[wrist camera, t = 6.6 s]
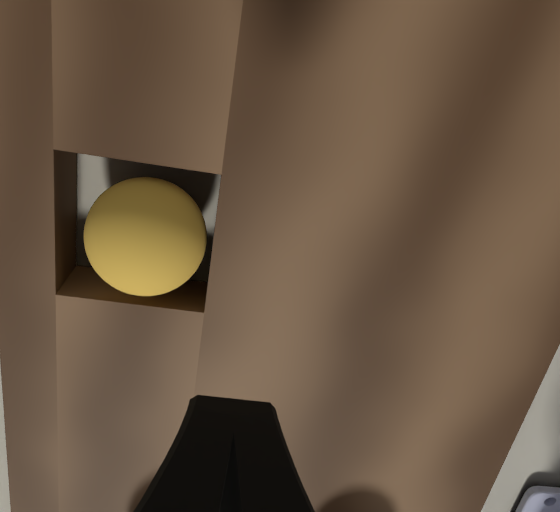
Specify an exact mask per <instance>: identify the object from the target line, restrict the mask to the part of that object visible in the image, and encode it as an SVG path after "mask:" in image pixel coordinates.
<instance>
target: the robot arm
mask: <svg viewBox="0 0 560 512" xmlns="http://www.w3.org/2000/svg"><path fill="white" fill-rule="evenodd" d="M133 512H315V511H314V509H313V506H312V504H311V502H310V500H309V498H308V495H307V493H306V491H305V489H304V487H303V484H302V482H301V479H300V477H299V475H298V472H297V470H296V467H295V465H294V462H293V459H292V457H291V454H290V452H289V449H288V446H287V444H286V441H285V438H284V435H283V432H282V429H281V426H280V423H279V419H278V416H277V412H276V409H275V407H274V406H273V405H272V404H271V403H270V402H261V401H252V400H243V399H233V398H224V397H214V396H205V395H196V396H195V397H193V398H191V399H190V401H189V404H188V408H187V411H186V414H185V416H184V419H183V421H182V424H181V426H180V428H179V431H178V433H177V435H176V437H175V439H174V441H173V443H172V445H171V447H170V449H169V451H168V453H167V455H166V457H165V459H164V461H163V462H162V464H161V466H160V467H159V469H158V471H157V473H156V474H155V476H154V478H153V480H152V481H151V483H150V485H149V487H148V488H147V490H146V492H145V494H144V495H143V497H142V499H141V500H140V502H139V504H138V505H137V507H136V508H135V510H134V511H133ZM515 512H560V488H559V487H548V486H533V487H530V488H529V489H527V491H526V492H525V494H524V496H523V498H522V499H521V501H520V503H519V505H518V507H517V509H516V511H515Z"/></svg>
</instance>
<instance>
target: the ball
mask: <svg viewBox="0 0 560 512" xmlns="http://www.w3.org/2000/svg"><path fill="white" fill-rule="evenodd" d="M206 243H207V231H206V225H205V221H204V218H203V216H202V213H201V211H200V209H199V207H198V206H197V204H196V203H195V201H194V200H193V199H192V198H191V197H190V196H189V195H188V194H187V193H186V192H185V191H184V190H183V189H181V188H180V187H178V186H176V185H175V184H173V183H170V182H168V181H166V180H163V179H159V178H153V177H136V178H131V179H127V180H124V181H121V182H119V183H117V184H115V185H113V186H111V187H110V188H108V189H107V190H106V191H104V192H103V193H102V194H101V195H100V196H99V197H98V198H97V200H96V201H95V202H94V204H93V205H92V207H91V209H90V211H89V213H88V215H87V218H86V222H85V226H84V246H85V251H86V254H87V257H88V259H89V262H90V263H91V265H92V267H93V268H94V270H95V271H96V273H97V274H98V275H99V276H100V277H101V278H102V279H103V280H104V281H105V282H107V283H108V284H109V285H111V286H112V287H114V288H116V289H117V290H120V291H122V292H125V293H127V294H132V295H137V296H155V295H160V294H164V293H167V292H170V291H172V290H174V289H176V288H178V287H179V286H181V285H182V284H184V283H185V282H186V281H187V280H188V279H189V278H190V277H191V276H192V275H193V274H194V273H195V271H196V270H197V269H198V267H199V265H200V263H201V261H202V259H203V256H204V253H205V249H206Z"/></svg>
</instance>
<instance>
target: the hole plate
mask: <svg viewBox="0 0 560 512" xmlns="http://www.w3.org/2000/svg"><path fill="white" fill-rule="evenodd" d="M77 153H81V154H88V155H94V156H101V157H107V158H114V159H121V160H127V161H134V162H141V163H147V164H154V165H161V166H167V167H174V168H180V169H187V170H194V171H200V172H207V173H214V174H220V175H221V182H220V190H219V198H218V206H217V214H216V222H215V230H214V238H213V246H212V254H211V262H210V270H209V278H208V282H201V281H193V280H187V281H186V282H185V283H184V284H182V285H181V286H179V287H178V288H176V289H174V290H172V291H170V292H167V293H164V294H160V295H155V296H137V295H132V294H127V293H125V292H122V291H120V290H117V289H116V288H114V287H112V286H111V285H109V284H108V283H107V282H105V281H104V280H103V279H102V278H101V277H100V276H99V275H98V274H97V273H96V271H95V270H94V268H92V267H84V266H76V209H77ZM559 344H560V0H0V362H1V376H2V390H3V405H4V419H5V433H6V448H7V462H8V476H9V491H10V505H11V512H133V511H134V510H135V508H136V507H137V505H138V504H139V502H140V500H141V499H142V497H143V495H144V494H145V492H146V490H147V488H148V487H149V485H150V483H151V481H152V480H153V478H154V476H155V474H156V473H157V471H158V469H159V467H160V466H161V464H162V462H163V461H164V459H165V457H166V455H167V453H168V451H169V449H170V447H171V445H172V443H173V441H174V439H175V437H176V435H177V433H178V431H179V428H180V426H181V424H182V421H183V419H184V416H185V414H186V411H187V408H188V404H189V401H190V399H191V398H193V397H195V396H196V395H205V396H214V397H224V398H233V399H243V400H252V401H261V402H270V403H271V404H272V405H273V406H274V407H275V409H276V412H277V416H278V419H279V423H280V426H281V429H282V432H283V435H284V438H285V441H286V444H287V446H288V449H289V452H290V454H291V457H292V459H293V462H294V465H295V467H296V470H297V472H298V475H299V477H300V479H301V482H302V484H303V487H304V489H305V491H306V493H307V495H308V498H309V500H310V502H311V504H312V506H313V509H314V511H315V512H481V510H482V507H483V505H484V503H485V501H486V499H487V497H488V495H489V493H490V491H491V488H492V486H493V484H494V482H495V480H496V478H497V476H498V474H499V471H500V469H501V467H502V465H503V463H504V461H505V459H506V457H507V455H508V452H509V450H510V448H511V446H512V444H513V442H514V440H515V438H516V435H517V433H518V431H519V429H520V427H521V425H522V423H523V421H524V418H525V416H526V414H527V412H528V410H529V408H530V406H531V404H532V402H533V399H534V397H535V395H536V393H537V391H538V389H539V387H540V385H541V382H542V380H543V378H544V376H545V374H546V372H547V370H548V368H549V365H550V363H551V361H552V359H553V357H554V355H555V353H556V351H557V349H558V346H559Z"/></svg>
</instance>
